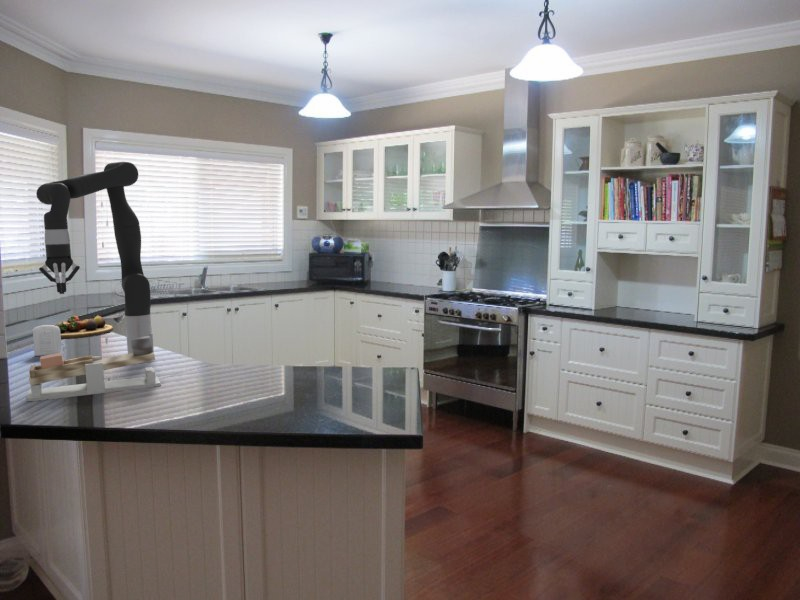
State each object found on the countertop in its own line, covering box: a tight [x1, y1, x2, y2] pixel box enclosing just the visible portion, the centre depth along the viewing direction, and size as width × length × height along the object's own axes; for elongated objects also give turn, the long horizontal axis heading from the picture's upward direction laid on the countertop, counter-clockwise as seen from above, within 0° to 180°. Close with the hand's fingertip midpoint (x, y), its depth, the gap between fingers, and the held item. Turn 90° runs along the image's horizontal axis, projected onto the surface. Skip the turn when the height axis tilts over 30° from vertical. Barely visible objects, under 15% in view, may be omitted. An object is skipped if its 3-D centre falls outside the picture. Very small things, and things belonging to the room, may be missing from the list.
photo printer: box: [32, 324, 63, 357], centre depth 272 cm, size 10×4×12 cm, turn 98°
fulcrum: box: [26, 355, 161, 402], centre depth 213 cm, size 38×12×10 cm, turn 115°
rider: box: [39, 352, 64, 369], centre depth 208 cm, size 6×5×5 cm
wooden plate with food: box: [54, 315, 114, 339], centre depth 327 cm, size 32×32×8 cm
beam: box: [28, 336, 156, 387], centre depth 213 cm, size 36×9×7 cm, turn 115°
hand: (61, 293), depth 229 cm, fingers closed
